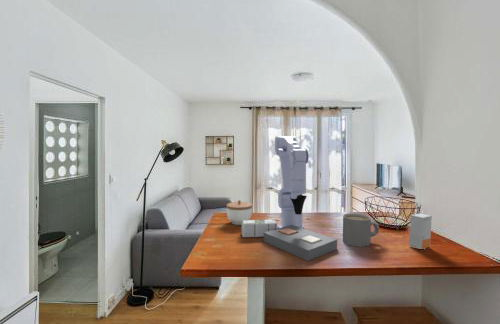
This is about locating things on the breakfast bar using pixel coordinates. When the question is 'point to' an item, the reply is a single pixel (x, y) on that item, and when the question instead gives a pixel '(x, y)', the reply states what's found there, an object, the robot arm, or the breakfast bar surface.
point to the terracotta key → (288, 231)
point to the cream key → (310, 239)
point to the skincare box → (420, 231)
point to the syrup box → (257, 227)
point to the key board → (300, 242)
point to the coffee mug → (358, 229)
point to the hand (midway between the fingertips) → (298, 214)
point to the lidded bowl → (239, 211)
